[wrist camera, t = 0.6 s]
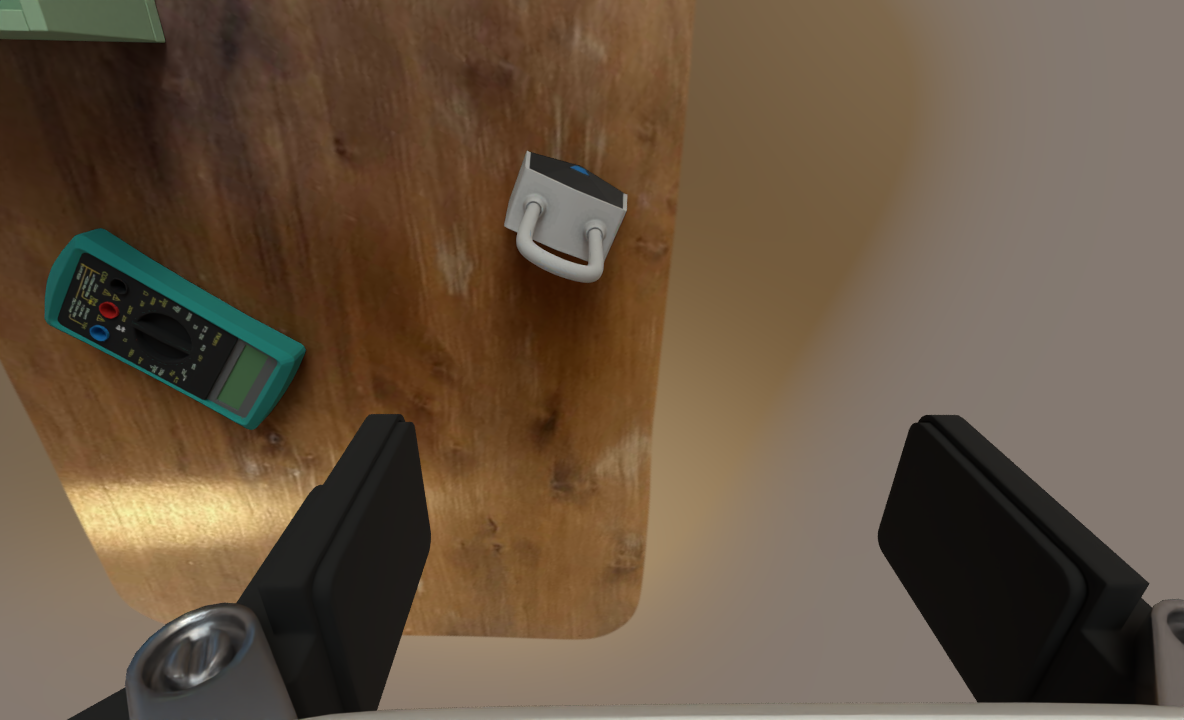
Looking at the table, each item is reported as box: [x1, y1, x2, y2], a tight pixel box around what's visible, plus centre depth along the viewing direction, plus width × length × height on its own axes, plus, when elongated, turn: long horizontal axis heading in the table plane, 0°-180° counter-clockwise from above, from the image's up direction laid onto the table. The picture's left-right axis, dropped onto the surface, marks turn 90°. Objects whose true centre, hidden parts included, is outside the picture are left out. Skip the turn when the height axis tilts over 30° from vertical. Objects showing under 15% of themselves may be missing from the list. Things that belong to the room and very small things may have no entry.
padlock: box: [504, 151, 627, 283], centre depth 29 cm, size 7×4×15 cm, turn 67°
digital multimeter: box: [45, 228, 306, 430], centre depth 38 cm, size 7×15×3 cm, turn 53°
